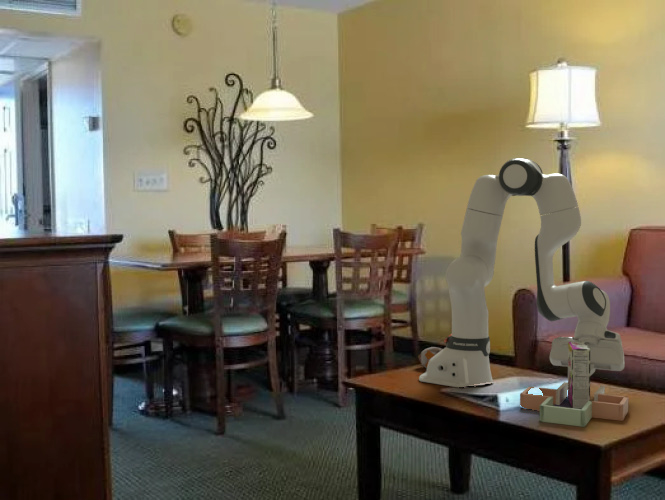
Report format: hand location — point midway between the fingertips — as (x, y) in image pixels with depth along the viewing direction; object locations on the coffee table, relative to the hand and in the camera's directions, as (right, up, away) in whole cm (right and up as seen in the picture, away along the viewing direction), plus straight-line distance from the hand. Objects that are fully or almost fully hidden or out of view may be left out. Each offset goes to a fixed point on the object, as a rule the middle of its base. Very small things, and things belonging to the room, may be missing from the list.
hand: (583, 379), depth 221 cm
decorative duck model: (-35, -4, +43) cm, 55 cm away
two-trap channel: (-6, -6, -11) cm, 14 cm away
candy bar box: (-3, -6, -5) cm, 9 cm away
